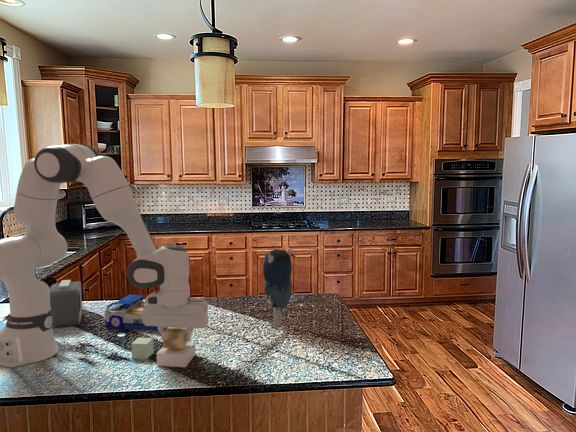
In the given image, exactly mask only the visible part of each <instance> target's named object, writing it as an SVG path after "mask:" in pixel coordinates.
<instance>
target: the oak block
mask: <svg viewBox="0 0 576 432" xmlns="http://www.w3.org/2000/svg"><path fill="white" fill-rule="evenodd" d="M188 333H189V331H188V329H187V328H183V327H168V328H167V329H166V330H165V331H164V332H163V340H162V347H163V348H169V349H183V348H184V346H185V345H186V344H187V343H190V341H184V339H185V338H184V336H185V335H186V334H188Z"/></svg>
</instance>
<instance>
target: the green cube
mask: <svg viewBox="0 0 576 432" xmlns="http://www.w3.org/2000/svg"><path fill="white" fill-rule="evenodd" d="M130 345H131V359H135V360H136V359H137V360H148V359H149V358H150V357H151V356H152V355H153V354H154V351H155V350H154V348H155V347H154V337H139V336H138V337H137V338H136V339H135V340H133V342H131V343H130Z"/></svg>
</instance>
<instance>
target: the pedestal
mask: <svg viewBox="0 0 576 432" xmlns="http://www.w3.org/2000/svg"><path fill="white" fill-rule="evenodd" d="M195 355H196V343H195V342H188V343H187V344H186V345H185V346H184V348H183V349H169V348H163V346H162V347H161V348H160V349H159V350H158V351H157V352H156V366H158V367H160V366H161V367H176V368H186V367H187V366H188V365H189V363H190V362H191V361H192V359H193V358H194V357H195Z"/></svg>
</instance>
